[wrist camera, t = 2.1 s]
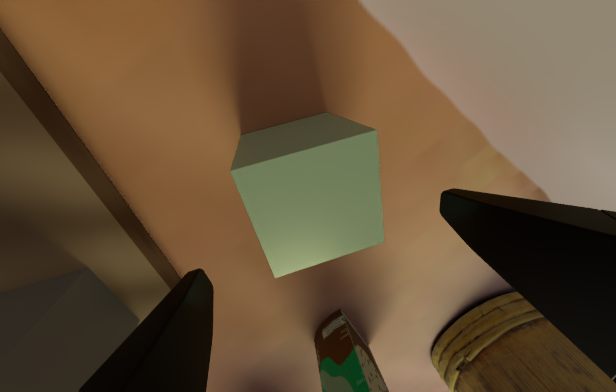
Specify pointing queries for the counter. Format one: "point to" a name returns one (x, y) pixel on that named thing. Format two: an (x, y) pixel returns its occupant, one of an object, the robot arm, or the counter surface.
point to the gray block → (59, 332)
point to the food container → (345, 358)
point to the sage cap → (311, 189)
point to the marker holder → (65, 202)
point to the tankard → (513, 353)
